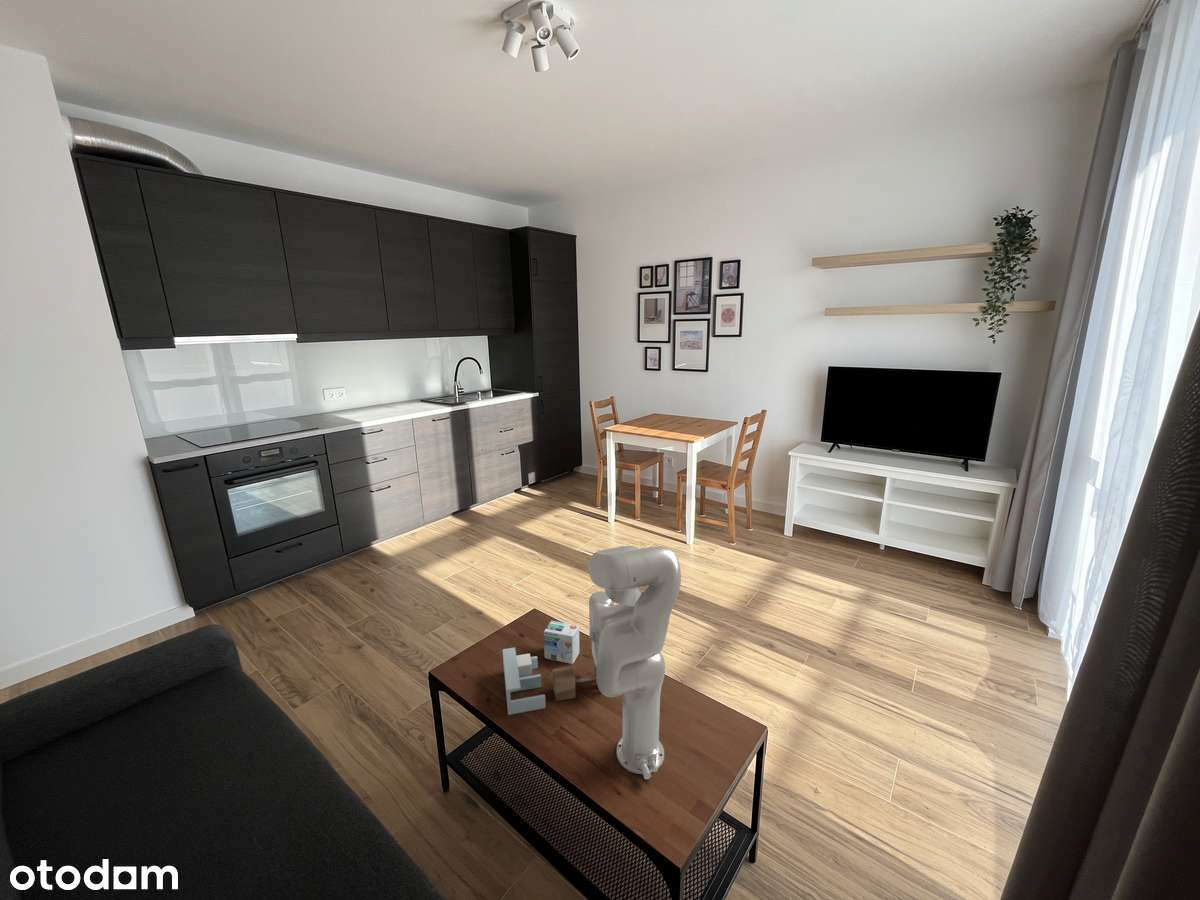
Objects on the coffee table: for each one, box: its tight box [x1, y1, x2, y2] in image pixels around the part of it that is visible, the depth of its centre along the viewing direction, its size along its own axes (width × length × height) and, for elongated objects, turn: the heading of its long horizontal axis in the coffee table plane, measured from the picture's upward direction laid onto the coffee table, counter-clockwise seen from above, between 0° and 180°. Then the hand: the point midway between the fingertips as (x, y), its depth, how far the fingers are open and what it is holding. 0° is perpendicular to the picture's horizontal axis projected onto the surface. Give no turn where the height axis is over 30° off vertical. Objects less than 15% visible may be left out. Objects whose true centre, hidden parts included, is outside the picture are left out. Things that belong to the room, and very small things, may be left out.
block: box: [516, 653, 533, 678], centre depth 159 cm, size 6×6×7 cm
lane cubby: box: [502, 647, 547, 716], centre depth 154 cm, size 19×11×9 cm, turn 14°
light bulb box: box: [543, 620, 580, 665], centre depth 170 cm, size 11×7×11 cm, turn 73°
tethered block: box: [552, 665, 596, 702], centre depth 154 cm, size 6×16×7 cm, turn 105°
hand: (601, 682), depth 156 cm, fingers open, 4 cm apart
